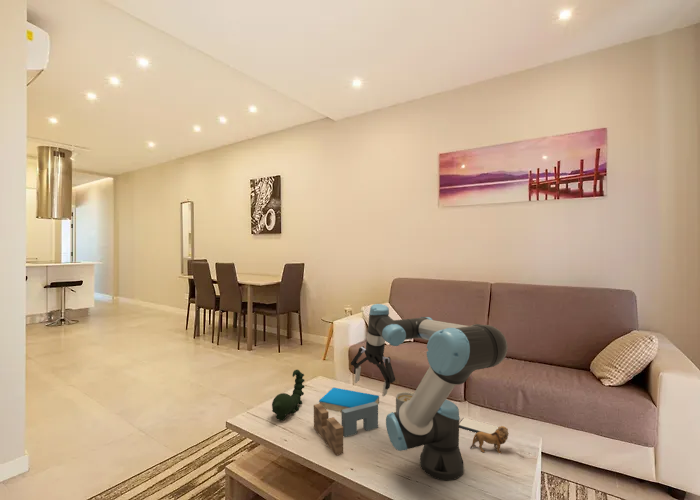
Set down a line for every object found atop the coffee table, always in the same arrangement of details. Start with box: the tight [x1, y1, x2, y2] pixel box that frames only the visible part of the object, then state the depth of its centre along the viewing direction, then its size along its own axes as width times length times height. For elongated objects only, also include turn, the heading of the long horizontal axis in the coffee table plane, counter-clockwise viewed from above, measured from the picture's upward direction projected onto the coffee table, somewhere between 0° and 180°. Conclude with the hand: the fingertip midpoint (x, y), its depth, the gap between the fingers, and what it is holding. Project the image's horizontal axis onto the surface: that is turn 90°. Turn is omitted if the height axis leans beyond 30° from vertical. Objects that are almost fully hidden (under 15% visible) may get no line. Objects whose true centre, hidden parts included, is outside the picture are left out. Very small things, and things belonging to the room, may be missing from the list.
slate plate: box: [341, 402, 379, 438], centre depth 150 cm, size 16×3×10 cm, turn 118°
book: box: [318, 387, 380, 413], centre depth 173 cm, size 17×4×25 cm
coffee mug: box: [395, 391, 414, 412], centre depth 161 cm, size 13×10×10 cm
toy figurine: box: [271, 369, 306, 422], centre depth 164 cm, size 9×19×25 cm
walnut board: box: [313, 403, 344, 456], centre depth 143 cm, size 22×3×10 cm, turn 28°
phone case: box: [459, 417, 499, 434], centre depth 152 cm, size 9×2×16 cm
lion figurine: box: [469, 425, 510, 454], centre depth 136 cm, size 15×5×9 cm, turn 91°
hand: (370, 388), depth 149 cm, fingers open, 13 cm apart
